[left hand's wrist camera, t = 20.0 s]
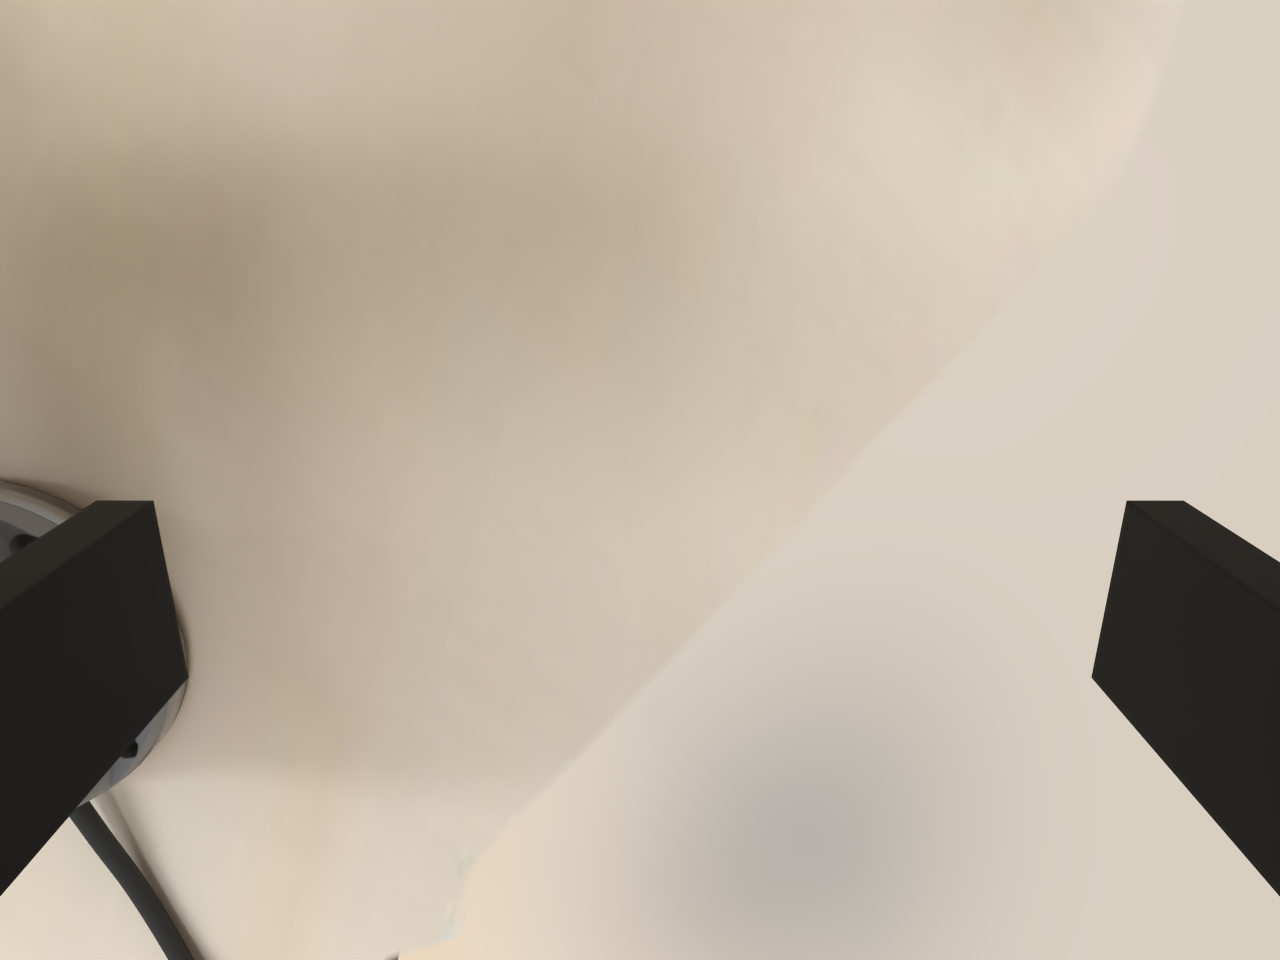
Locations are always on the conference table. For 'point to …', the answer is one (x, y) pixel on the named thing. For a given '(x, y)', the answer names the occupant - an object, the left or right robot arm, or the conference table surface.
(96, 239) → the conference table surface
